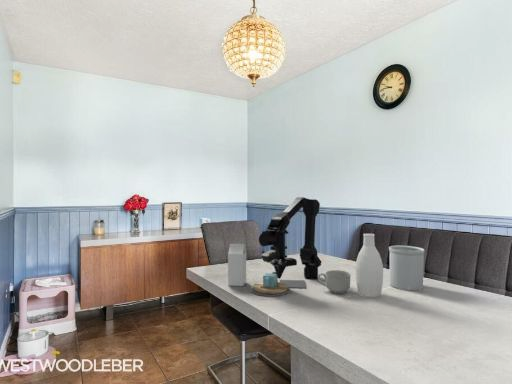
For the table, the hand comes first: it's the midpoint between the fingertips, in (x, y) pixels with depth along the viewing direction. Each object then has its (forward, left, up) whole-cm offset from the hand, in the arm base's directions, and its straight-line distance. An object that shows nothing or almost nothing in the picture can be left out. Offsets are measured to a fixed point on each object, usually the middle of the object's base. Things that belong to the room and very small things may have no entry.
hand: (279, 278), depth 147 cm
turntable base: (+4, +5, -4) cm, 7 cm away
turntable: (+4, +5, -4) cm, 7 cm away
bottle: (-38, +8, -4) cm, 39 cm away
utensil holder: (-58, -5, -4) cm, 59 cm away
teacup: (-24, +4, -4) cm, 25 cm away
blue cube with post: (+4, +6, -2) cm, 8 cm away
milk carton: (+20, -4, -4) cm, 21 cm away
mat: (-6, -5, -4) cm, 9 cm away
